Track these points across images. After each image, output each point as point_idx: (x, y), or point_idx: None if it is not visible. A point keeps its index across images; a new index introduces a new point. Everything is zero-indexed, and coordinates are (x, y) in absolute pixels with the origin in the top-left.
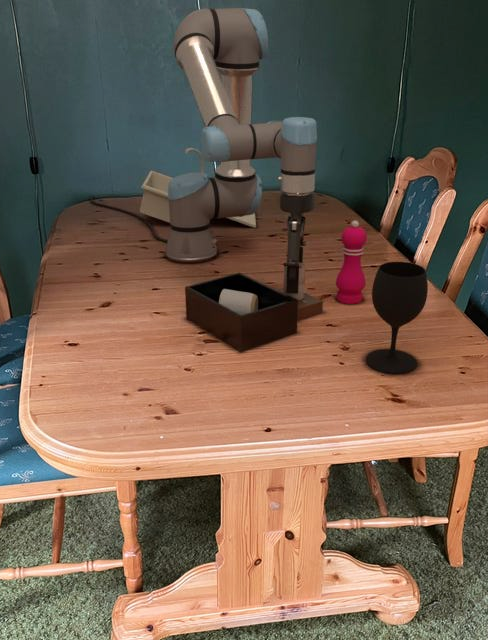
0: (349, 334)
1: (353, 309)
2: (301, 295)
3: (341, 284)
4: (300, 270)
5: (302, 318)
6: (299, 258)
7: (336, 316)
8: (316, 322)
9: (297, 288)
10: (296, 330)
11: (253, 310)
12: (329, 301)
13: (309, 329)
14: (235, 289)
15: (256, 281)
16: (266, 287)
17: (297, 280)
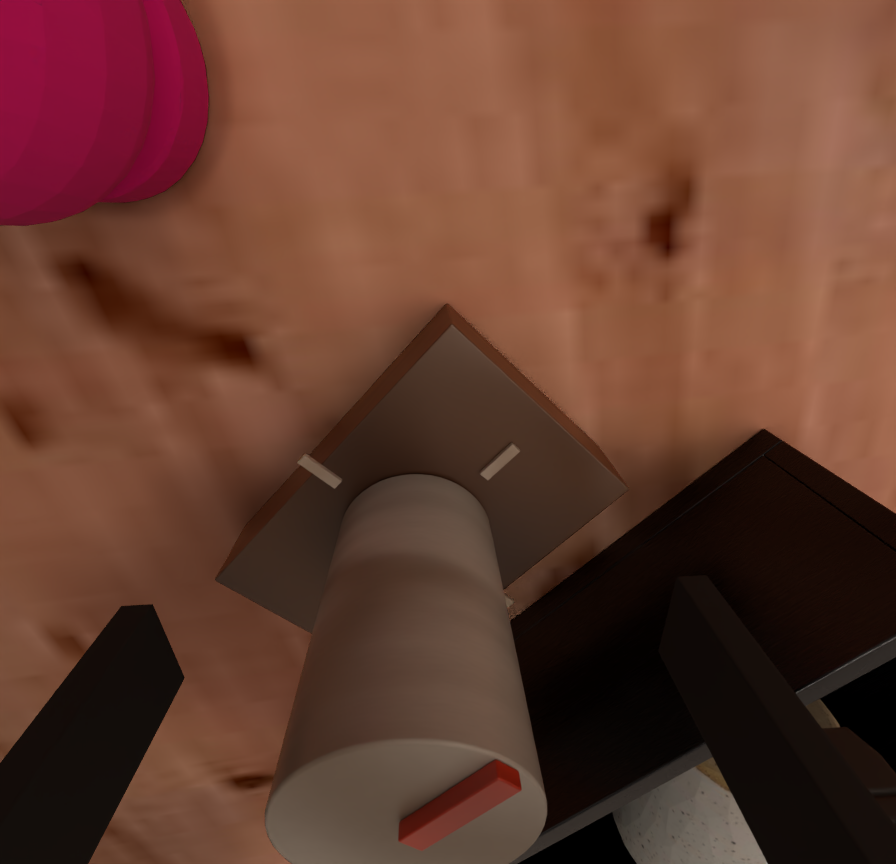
0: (848, 44)
1: (320, 14)
2: (464, 506)
3: (107, 141)
4: (517, 740)
5: (572, 422)
6: (48, 803)
7: (501, 183)
8: (616, 329)
9: (733, 620)
10: (775, 437)
11: (838, 726)
12: (212, 263)
13: (722, 362)
14: None
15: (545, 842)
16: (655, 784)
17: (794, 705)
